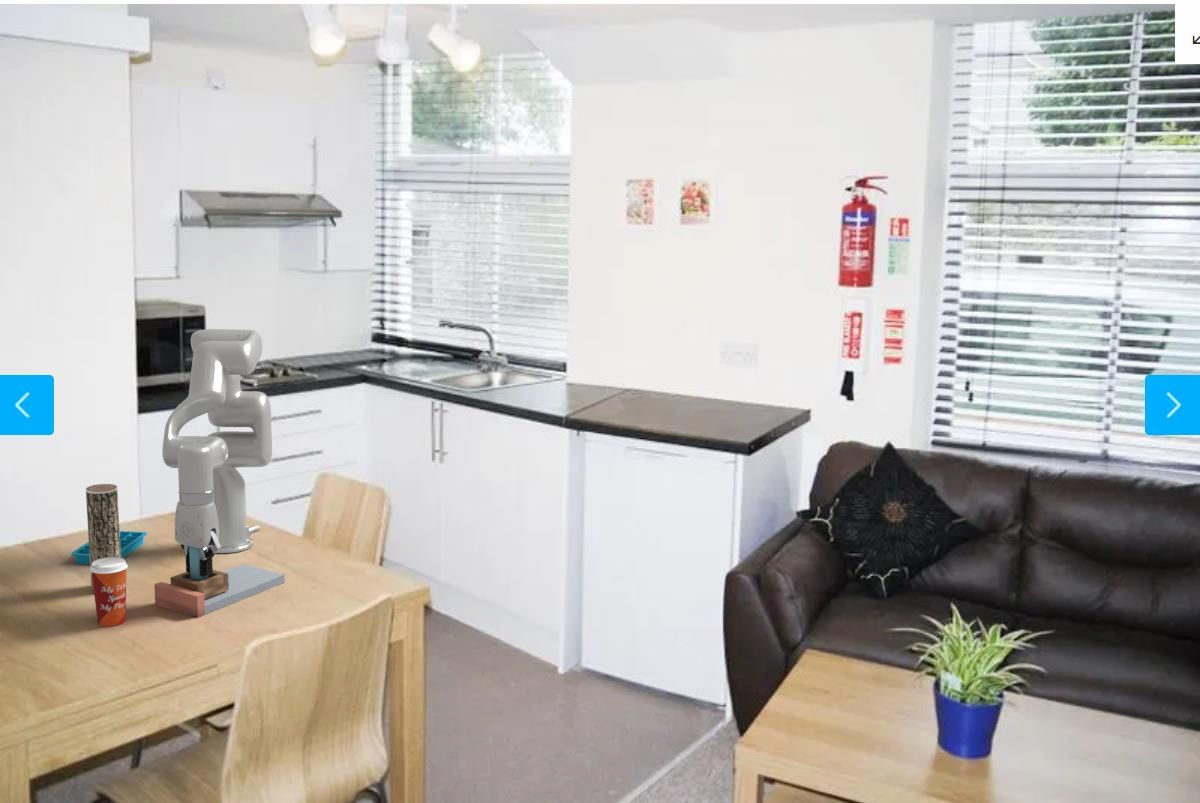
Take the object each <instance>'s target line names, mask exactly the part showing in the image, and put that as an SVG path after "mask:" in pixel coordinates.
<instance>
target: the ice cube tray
mask: <svg viewBox="0 0 1200 803" xmlns="http://www.w3.org/2000/svg"><path fill="white" fill-rule="evenodd" d="M147 535H148V533H147V532H146V531H134V530H131V531H130V530H120V550H121V558H122V559H125V557H127V556H128V555H130V553H132V552H133V551H135V550H136V549H138V548H139V547H140V546H142V545H143V544H144V537H146V536H147ZM70 554H71V555H70V556H73V557H75V563H76V564H83V565H90V555H89V541H88V542H85V543H84V544H83V545H81V546H80V547H78V548H77V549H75V550H74V551H72V552H71V553H70Z"/></svg>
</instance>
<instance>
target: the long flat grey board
mask: <svg viewBox="0 0 1200 803" xmlns="http://www.w3.org/2000/svg"><path fill="white" fill-rule="evenodd" d="M222 572H223V573H227V574H228V582H229V590H227V591H225V592H222V593H220V594H217V595H215V596H212V597H209V598H207V599H204V594H203V593H200V592H196V591H193V590H189V589H185V588H182V587H178V586H175V585H171V583H168V582H164V581H160V582H158V583H154V585H153V586H154V604H155V606H159V607H162V608H165V609H169V610H171V611H175V612H177V613H182V614H186V615H189V616H191V617H192V616H193V617H195V618H200V617H202V616H203V617H204V616H205V615H208V614H210V613H212V612H215V611H218V610H220V609H222V608H225V607H228V606H230V605H232V604H235V603H237V602H240V601H242V600H245V599H248V598H250V597H252V596H254V595H256V594H259V593H262V592H264V591H266V590H269V589H272V588H274V587H277V586H279V585H282V584H284V583H285V574H283V573H279V572H275V571H271V570H267V569H264V568H260V567H256V566H253V565H252V566H251V565H248V564H244V563H243V564H239V565H237V566H235V567H232V568H229V569H226V570H223V571H222Z"/></svg>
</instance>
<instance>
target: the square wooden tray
mask: <svg viewBox="0 0 1200 803" xmlns="http://www.w3.org/2000/svg"><path fill="white" fill-rule="evenodd" d="M208 576H209V578H208V579H205V580H202V581H200V582H197V581H193V580H190V573H188V572H186V571H185V572H181V573H179V574H177V575H174V576H170V584H171V585H175V586H178V587H182V588H185V589H189V590H193V591H196V592H200V593H203V594H204V599H207V598H209V597H212V596H215V595H217V594H220V593H222V592H225V591H227V590H229V582H228V574H227V573H223V571H219V570H215V569H213V572H212V574H209V575H208Z"/></svg>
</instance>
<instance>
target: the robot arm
mask: <svg viewBox="0 0 1200 803" xmlns="http://www.w3.org/2000/svg"><path fill="white" fill-rule="evenodd" d="M261 337H262V336H261V335H260V333H259V332H258V331H256V330H253V329H228V328H223V329H222V328H208V329H207V328H206V329H200V330H199V329H198V330H196V331H194V332H193V333H192V334H191V337H190V347H191V349H192V353H193V354H192V363H191V370H190V380H189V381H190V382H189V389H188V396H187V397H186V398H185V399H183V401H181V403H179V404H178V405H177V406H176V408H175V409H174V410H173V411H172V412H171V414H170V416H168V418H167V421H166V423H165V426H164V433H163V434H164V435H163V441H162V447H161V448H162V452H161V453H162V454H161V455H162V460H163V463H164V464H165V465H166V466H167V467H169V468H171V469H177V470H178V471H177V472H178V473H177V474H178V496H179V497H178V500H179V501H177V504H176V508H175V516H174V539H175V541H176V542H177V543H178V544H179V546H180V547H181V549H182V551H183V556H185V572H188V573H190V557H189V546H190V547H194V548H198V549H200V552H201V558H202V560H200V576H202V577H203V576H206V575H209V574H212V572H213V570H214V569H213V558H215V555H217V554H232V553H233V554H234V553H239V552H242V551H246V550H248V549H250V548H251V547H252V546H253V545H254V541H253V539H252V538H251V537H250V536H252V534H255V533H258V532H260V525H257V524H255V525H253V526H248V525H247V504H246V503H247V502H246V499H247V498H246V482H245V479H244V478H243V475H242V474H241V473H240V472H239V471H238V469H237V468H261V467H266V466H268V465H269V464H270V462H271V460H272V455H273V437H272V435H273V434H272V411H271V410H272V408H271V402H270V399H269V397H268V395H267V394H266V393H265V392H262V391H255V390H253V391H248V390H247V391H245V390H244V391H243V390H242V389H241V376H247V375H250V374H252V373H254V371H255V369H256V367H257V365H258V362H259V360H260V359H261V356H262V352H263V339H262V338H261ZM205 414H207V418H208V421H209V423H210V424H211V425H212V426H214V427H219V428H250V429H252V431H235V430H234V431H229V430H228V431H216V432H211V433H210V434H208V435H207V436H205V435H202V436H201V435H187V436H186V435H180V436H179V434H180V432H181V430H182V428H183V427H184V426H185V425H186V424H188V423H189V422H190V421H192V420H194V419H196V418H198V417H200V416H202V415H205ZM205 549H208V551H207V552H206V550H205ZM216 553H217V554H216Z"/></svg>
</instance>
